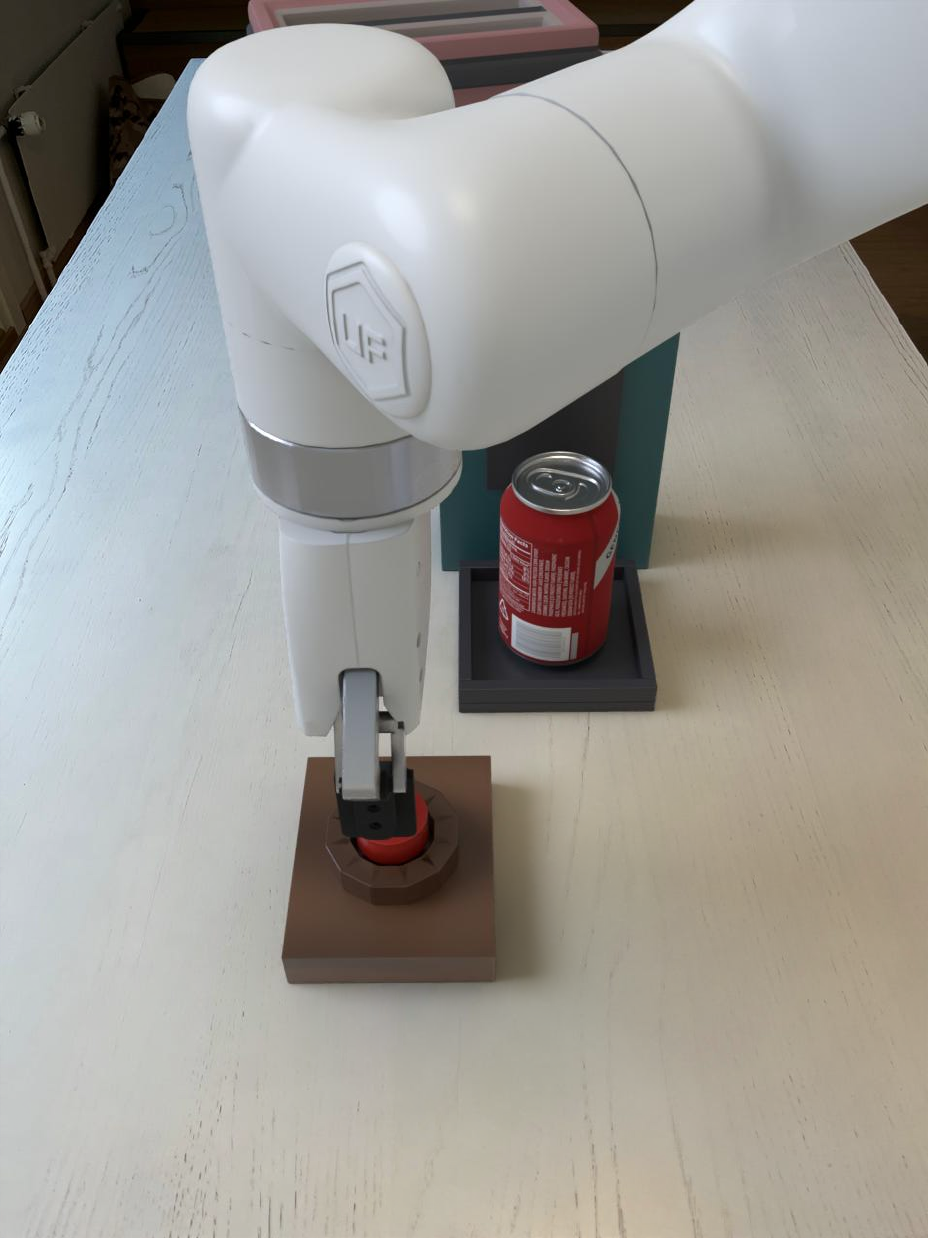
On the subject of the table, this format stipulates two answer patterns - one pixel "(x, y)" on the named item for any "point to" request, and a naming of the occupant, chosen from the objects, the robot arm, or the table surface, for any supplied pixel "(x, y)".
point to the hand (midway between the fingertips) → (385, 752)
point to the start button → (399, 841)
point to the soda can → (557, 558)
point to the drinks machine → (593, 426)
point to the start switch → (395, 886)
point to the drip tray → (522, 686)
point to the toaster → (460, 35)
